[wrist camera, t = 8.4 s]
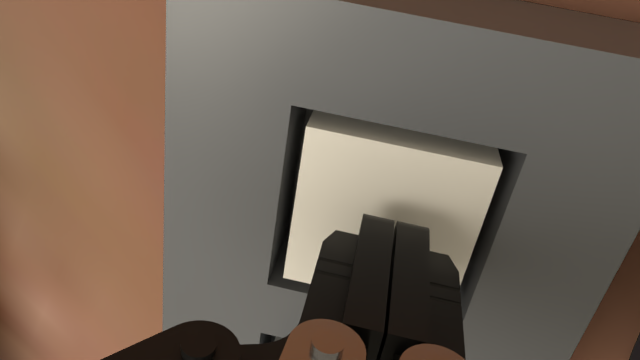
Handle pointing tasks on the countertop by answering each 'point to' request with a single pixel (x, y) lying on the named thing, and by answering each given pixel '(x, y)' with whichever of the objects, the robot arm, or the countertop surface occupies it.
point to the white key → (387, 187)
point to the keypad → (413, 114)
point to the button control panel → (636, 350)
